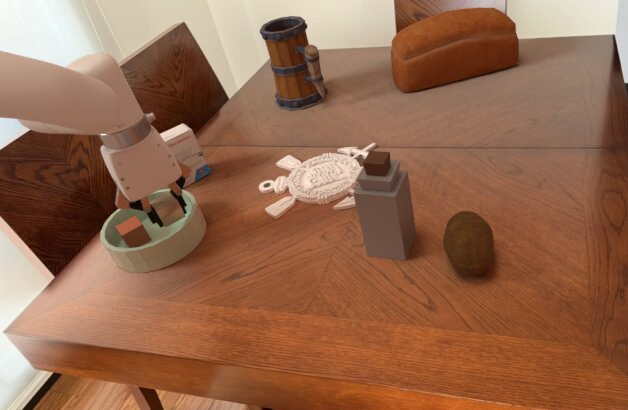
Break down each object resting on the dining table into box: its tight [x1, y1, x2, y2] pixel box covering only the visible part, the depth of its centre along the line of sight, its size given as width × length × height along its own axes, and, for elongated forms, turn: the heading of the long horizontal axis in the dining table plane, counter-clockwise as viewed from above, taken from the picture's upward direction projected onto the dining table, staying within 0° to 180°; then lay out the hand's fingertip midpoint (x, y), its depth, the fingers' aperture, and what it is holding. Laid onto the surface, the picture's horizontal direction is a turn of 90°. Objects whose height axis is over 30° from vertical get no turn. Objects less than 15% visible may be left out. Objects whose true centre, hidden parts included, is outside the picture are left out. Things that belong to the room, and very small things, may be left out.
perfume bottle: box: [352, 150, 417, 261], centre depth 81 cm, size 7×7×18 cm
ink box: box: [159, 123, 212, 189], centre depth 109 cm, size 9×5×12 cm, turn 130°
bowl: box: [99, 188, 208, 274], centre depth 95 cm, size 18×18×6 cm
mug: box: [259, 15, 329, 112], centre depth 128 cm, size 19×14×20 cm
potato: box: [442, 210, 495, 277], centre depth 79 cm, size 8×12×8 cm, turn 8°
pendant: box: [258, 142, 377, 220], centre depth 104 cm, size 21×28×1 cm
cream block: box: [149, 192, 186, 228], centre depth 91 cm, size 4×4×4 cm
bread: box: [390, 7, 520, 93], centre depth 129 cm, size 14×33×16 cm, turn 104°
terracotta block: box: [115, 216, 151, 248], centre depth 95 cm, size 4×4×4 cm
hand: (170, 216), depth 92 cm, fingers closed on cream block, 3 cm apart
